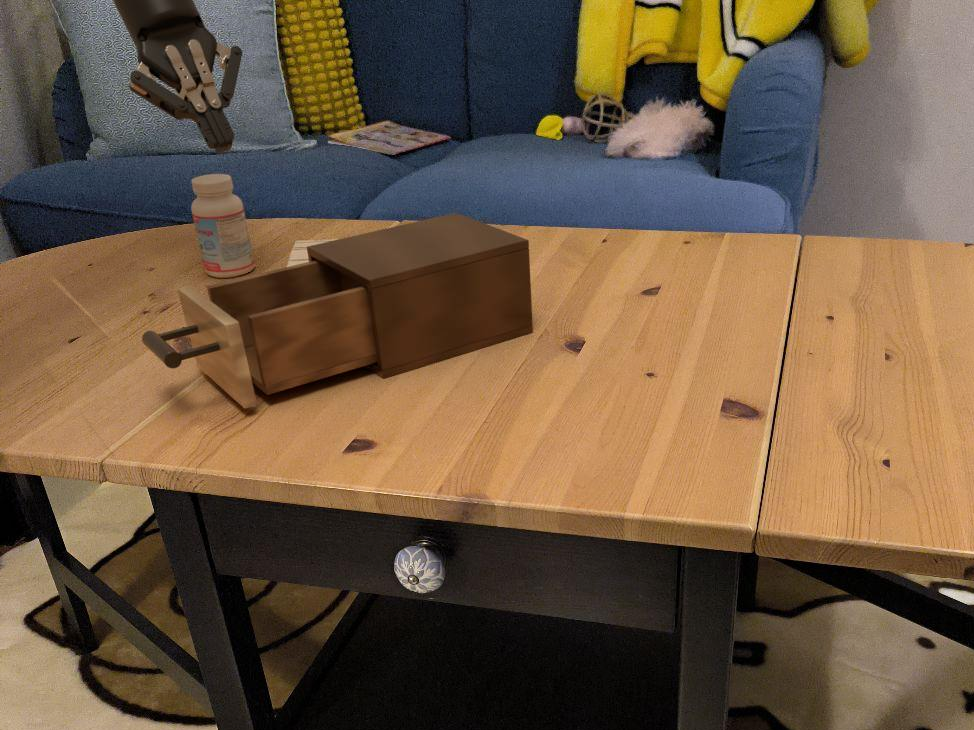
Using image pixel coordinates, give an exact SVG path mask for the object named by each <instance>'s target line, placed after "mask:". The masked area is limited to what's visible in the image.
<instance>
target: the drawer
mask: <svg viewBox="0 0 974 730" xmlns="http://www.w3.org/2000/svg"><path fill="white" fill-rule="evenodd" d="M206 290H207V294H208V298H207V297H206V296H205V295H203V294H202V293H200V292H199V291H198V290H197V289H195V288H194V287H192V286H191V285H190V284H189V285H185V286H181V287H177V293H178V297H179V301H180V305H181V308H182V309H181V310H182V312H183V316H184V320H185V324H186V326H185V327H182V328H176V329H173V330H169V331H165V332H161V333H157V332H156V331H154V330H147V331H145V332H144V333H143V334H142V336H141V342H142V344H143V345H144V346H145V347H146V348H147V349H148V350H149V351H150V352H151V353H152V354H154V355H155V356H156V358H157V359H159V360H160V362H161V363H163V364H164V365H165V367H167V368H169V369H177V368H179V367H180V366H181V365H182V362H183V361H186V360H189V359H192V358H194V360H195V363H196V366H197V367H198V368H199V369H200V370H201V371H202V372H203V373H204V374H206V376H208V377H209V378H210V379H211V380H212V381H213V382H214V383H215V384H216V385H218V387H219V388H221V389H222V390H223V391H224V392H226V394H228V395H229V396H230V397H231V398H232V399H233V400H234V401H235V402H236V403H237V404H239V405H240V406H241V407H242V408H243V409H249V408H253V407H256V406H258V403H257V402H258V401H257V398H256V393H255V389H254V385H255V386H256V387H257V388H258V389H260V390H261V391H262V392H263V393H264V394H265V395H267V396H269V395H272V394H276V393H279V392H282V391H285V390H289V389H293V388H295V387H299V386H303V385H306V384H308V383H312V382H316V381H319V380H322V379H325V378H328V377H329V378H330V377H332V376H335V375H339V374H342V373H345V372H349V371H352V370H355V369H359V368H362V367H365V366H366V365H369V364H372V363H376V362H378V360H377V353H376V346H375V339H374V332H373V325H372V318H371V311H370V304H369V297H368V290H367V286H365V285H363V284H361V283H360V282H358V281H356V280H354V279H352V278H350V277H349V276H347V275H345V274H343V273H341V272H339V271H338V270H336V269H334V268H332V267H330V266H328V265H327V264H325V263H323V262H321V261H319V260H315V261H311V262H307V263H302V264H298V265H294V266H290V267H287V266H286V267H282V268H278V269H272V270H269V271H266V272H260V273H256V274H252V275H248V276H247V275H246V276H243V277H239V278H235V279H231V280H227V281H222V282H217V283H214V284H210V285H206ZM186 336H189V340H190V344H191V348H190V349H186V350H182V351H179V352H178V351H177V350H175V348H173V346H171V345H170V344H169V343H168V342H167V341H171V340H175V339H179V338H182V337H186Z"/></svg>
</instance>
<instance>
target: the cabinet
mask: <svg viewBox="0 0 974 730" xmlns="http://www.w3.org/2000/svg"><path fill="white" fill-rule="evenodd" d="M337 239H338V240H334V241H330V242H325V243H321V244H316V245H312V246H308V247H307V252H308V258H309V262H311V261H315V260H319V261H321V262H323V263H325V264H327V265H328V266H330V267H332V268H334V269H336V270H338V271H339V272H341V273H343V274H345V275H347V276H349V277H350V278H352V279H354V280H356V281H358V282H360V283H361V284H363V285H365V286H367V290H368V297H369V304H370V311H371V318H372V325H373V332H374V339H375V346H376V353H377V360H378V362H376V363H372V364H369V365H366V366H364V367H366V368H367V369H368V370H370V371H371V372H373V373H374V374H376V375H377V376H379V377H380V378H382V379H386V378H390V377H393V376H396V375H400V374H403V373H406V372H410V371H412V370H415V369H418V368H419V369H420V368H422V367H426V366H429V365H432V364H435V363H438V362H441V361H442V362H443V361H444V360H448V359H451V358H454V357H458V356H461V355H464V354H467V353H470V352H474V351H477V350H480V349H484V348H487V347H490V346H494V345H496V344H497V345H498V344H500V343H503V342H506V341H509V340H512V339H515V338H518V337H522V336H526V335H529V334H532V333H533V332H534V326H533V305H532V304H533V303H532V285H531V283H532V282H531V262H530V259H531V258H530V241H529V239H526V238H525V237H521V236H520V235H516V234H513V233H511V232H508V231H505V230H503V229H501V228H497V227H496V226H492V225H490V224H487V223H485V222H482V221H480V220H477V219H475V218H471V217H469V216H466V215H463V214H461V213H458V212H452V213H449V214H444V215H440V216H436V217H431V218H426V219H422V220H417V221H413V222H409V223H404V224H399V225H396V226H391V227H386V228H383V229H378V230H374V231H370V232H365V233H360V234H356V235H353V236H352V235H351V236H347V237H343V238H337Z"/></svg>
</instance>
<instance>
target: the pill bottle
mask: <svg viewBox="0 0 974 730" xmlns="http://www.w3.org/2000/svg"><path fill="white" fill-rule="evenodd" d="M191 187H192V191H193V194H194V195H195V196H196V198H195V199H194V200H192V203H191V207H190V211H191V214H192V219H193V225H194V229H195V232H196V237H197V241H198V246H199V250H200V254H201V260H202V263H203V267H204V272H205V273H206V274H207V275H208V276H210V277H213V278H218V279H219V278H220V279H229V278H235V277H240V276H242V275H243V276H244V275H245V274H248V272H249V273H250V272H252V271H253V270H254V269H255V267H256V263H255V257H254V251H253V248H252V243H251V237H250V231H249V227H248V222H247V218H246V213H245V207H244V204H243V201H242V199H241V198H240V197H239V196H238V195H236V194H234V193H233V191H234V184H233V180H232V176H231V175H229V174H225V173H211V174H203V175H199V176H195V177H194V178H192V179H191Z"/></svg>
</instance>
